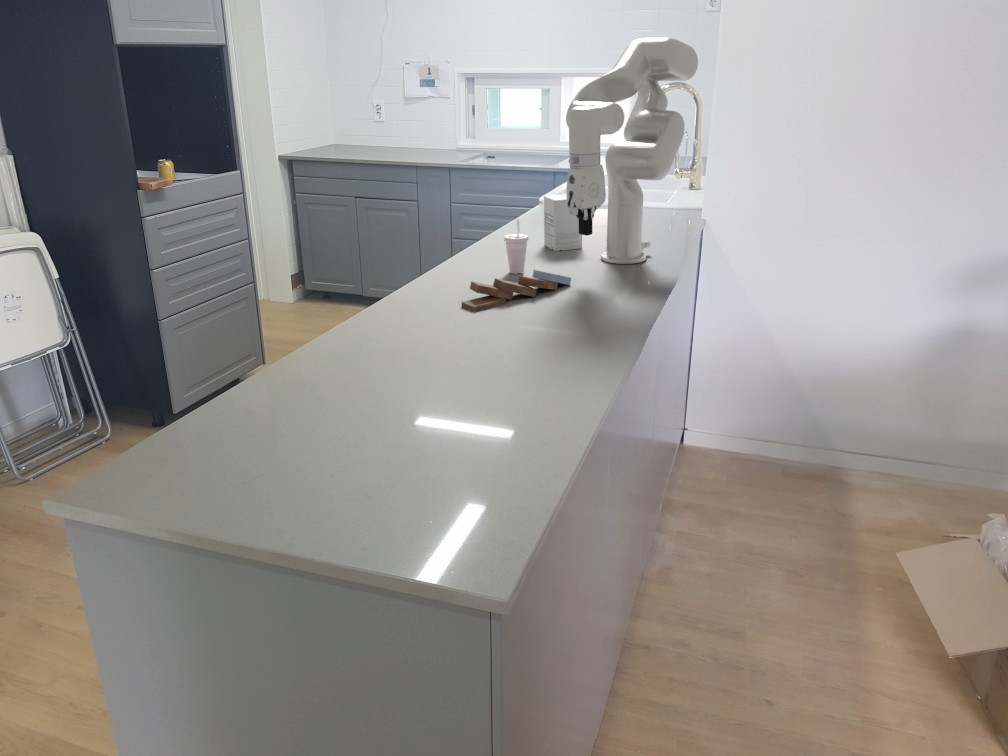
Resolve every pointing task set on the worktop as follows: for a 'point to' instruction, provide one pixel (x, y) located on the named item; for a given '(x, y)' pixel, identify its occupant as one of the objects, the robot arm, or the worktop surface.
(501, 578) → the worktop surface
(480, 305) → the tile
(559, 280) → the tile
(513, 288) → the tile
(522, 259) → the smoothie
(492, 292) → the tile
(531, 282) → the tile
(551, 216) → the supplement box
